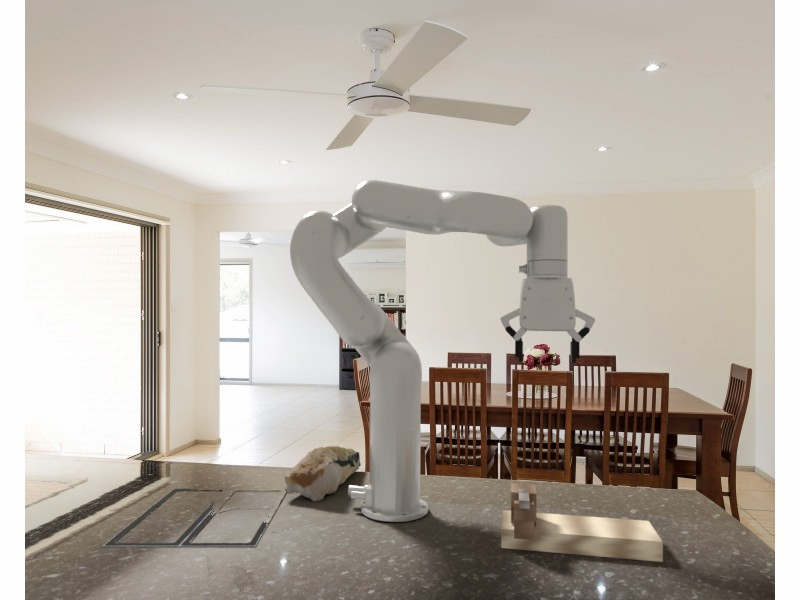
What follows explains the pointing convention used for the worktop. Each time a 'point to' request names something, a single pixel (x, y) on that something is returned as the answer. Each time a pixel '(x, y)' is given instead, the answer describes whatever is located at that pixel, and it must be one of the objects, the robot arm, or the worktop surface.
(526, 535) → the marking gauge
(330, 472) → the mineral
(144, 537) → the worktop surface
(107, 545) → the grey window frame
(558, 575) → the worktop surface
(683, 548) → the worktop surface
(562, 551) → the birch board
